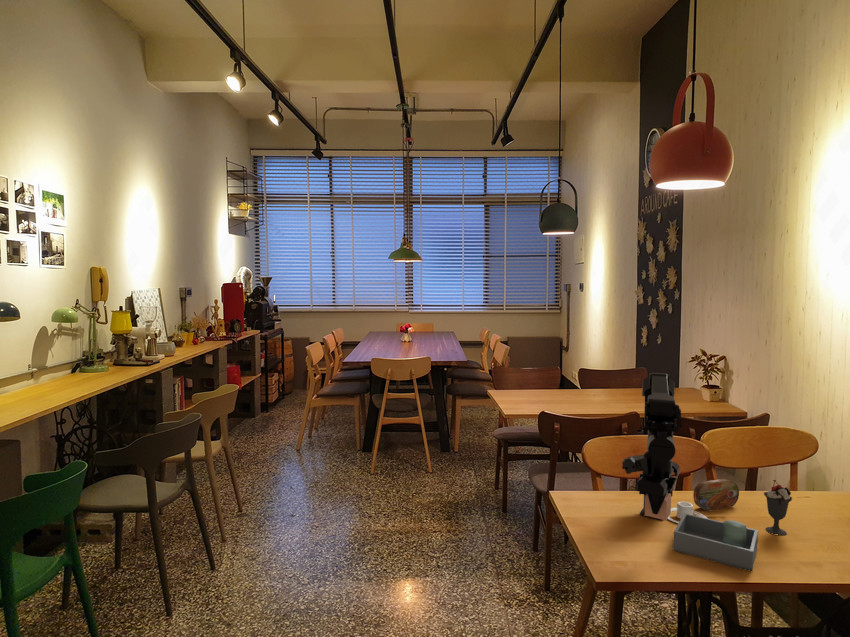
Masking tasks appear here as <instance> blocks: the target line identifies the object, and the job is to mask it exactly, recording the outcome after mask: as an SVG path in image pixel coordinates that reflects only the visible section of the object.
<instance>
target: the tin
mask: <svg viewBox="0 0 850 637" xmlns="http://www.w3.org/2000/svg"><path fill="white" fill-rule="evenodd" d="M739 496H740V490H739V487H738V485H737V484H736V482H734V481H732V480H729V479H726V478H719V479H713V480H706V481H705V480H704V481H700V482H699V483H698V484H696V486H695V487H694V489H693V496H692V497H693V502H694V504H695V505H696V506H697V507H698V508H699V509H702V510H704V511H706V512H710V511H709V510H712V511H718V510H723V509H724V508H725V509H730V508H732V507H733V506H736V503H738V500H739ZM717 509H718V510H717Z"/></svg>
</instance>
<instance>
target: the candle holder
mask: <svg viewBox="0 0 850 637" xmlns="http://www.w3.org/2000/svg"><path fill="white" fill-rule="evenodd" d="M672 511H675V512H676V517H677V518H679V519H680V520H681V518H682V516H683V515H684V513H686V514H690V515H695V514H696V515H695V516H697V515H698V516H700V517H703V518H707V519H709V518H708V517H707V516H706V515H705V514H703V513H701V512H700V511H697V510H694V505H693V504H692V503H691V502H688V501H678V502H677V503H676V507H671V513H673V512H672ZM693 513H694V514H693ZM667 520H669V521H670V522H673V523H676V524H678V523H679V522H680V520H679V521H678V520H675V519H674V518H672V517H670V516H669V517H668V518H667Z"/></svg>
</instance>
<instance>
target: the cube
mask: <svg viewBox="0 0 850 637" xmlns="http://www.w3.org/2000/svg"><path fill="white" fill-rule="evenodd" d="M671 508H672V497H671V494H670V493H667V495H666V497H665V499H664V502H663V504H662V506H661V508H660V510H659V512H658V514H653V513H652V509H651V505H650V501H649V498H648V495H647V494H646V495H645V515H646V516H645V517H647V516H650V517H649V518H652V517H654V518H653V519H656V518H658V519H657V520H660V519H662V520H661V521H667V520H668V519H667V518H668V517H670V515H671V513H672V512H671Z"/></svg>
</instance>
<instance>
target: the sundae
mask: <svg viewBox="0 0 850 637" xmlns="http://www.w3.org/2000/svg"><path fill="white" fill-rule="evenodd" d="M775 483H776V485H775ZM791 494H792V492H791V491H790V489H789V488H788V487H786V486H785V487H783V486H782V485H781V484H778V483H777V480H776V479H773V486H771V489H769V490H768V491H765V492H763V495H764V496H765V498H766V503H767V505H766V506H767V511H768V512H767V513H768V514H769V516H770V517H771V518H772V519H773V525H772V526H767V527H766V528H765V531H766V530H767V531H768V532H767V531H766V532H767V533H769V532H770V533H769V534H771V533H773V534H772V535H774V534H778V535H777V536H779V535H784V536H787V534H788V533H787V531H786V530H784V529H783V528H780V521H781V520H783V519H784V518H786V516H787V512H788V508H789V503H790V502H792V500H793V497H792V496H791Z"/></svg>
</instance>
